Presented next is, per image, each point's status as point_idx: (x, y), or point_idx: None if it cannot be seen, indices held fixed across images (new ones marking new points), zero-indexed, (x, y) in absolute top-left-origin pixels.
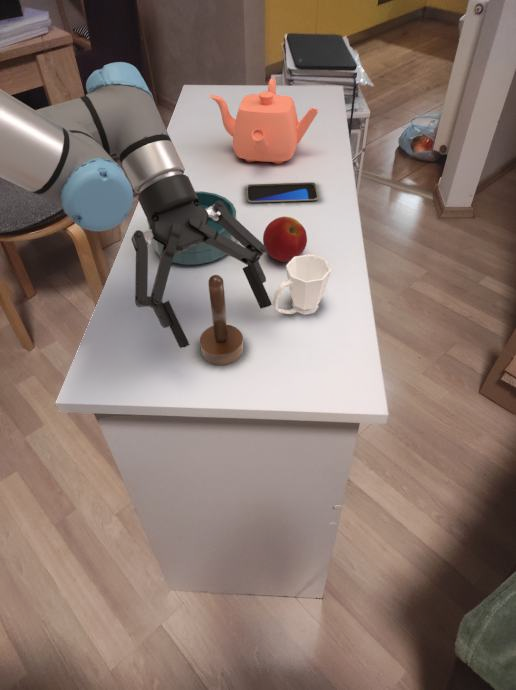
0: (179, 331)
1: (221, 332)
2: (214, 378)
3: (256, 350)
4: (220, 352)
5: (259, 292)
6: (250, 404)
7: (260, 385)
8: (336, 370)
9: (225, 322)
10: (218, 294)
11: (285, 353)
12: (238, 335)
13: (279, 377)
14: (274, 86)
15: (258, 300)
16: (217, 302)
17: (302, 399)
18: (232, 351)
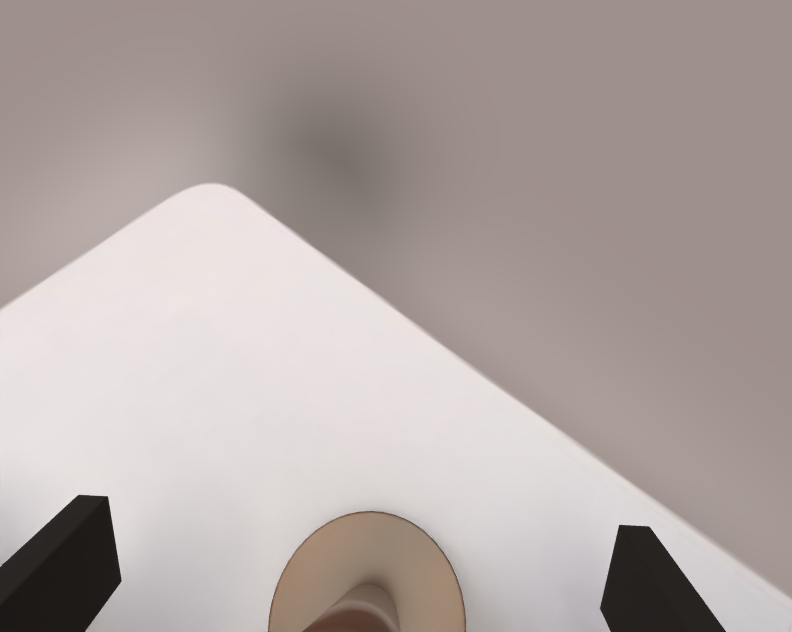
0: (693, 608)
1: (379, 591)
2: (471, 497)
3: (274, 513)
4: (416, 544)
5: (36, 600)
6: (431, 346)
7: (367, 380)
8: (169, 295)
9: (345, 595)
10: (362, 624)
11: (213, 434)
12: (295, 583)
13: (303, 370)
14: None
15: (83, 609)
16: (380, 620)
17: (312, 282)
18: (374, 514)
